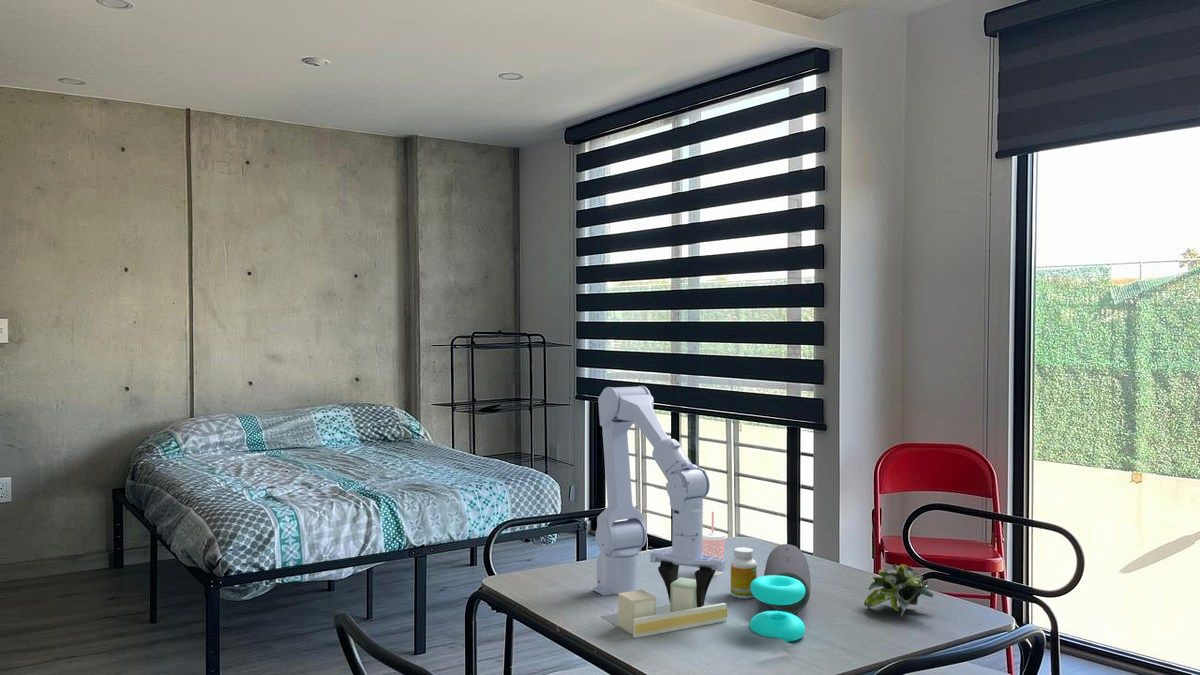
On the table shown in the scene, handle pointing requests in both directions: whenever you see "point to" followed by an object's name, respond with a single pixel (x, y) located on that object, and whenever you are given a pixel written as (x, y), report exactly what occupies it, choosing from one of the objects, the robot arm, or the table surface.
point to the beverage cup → (713, 543)
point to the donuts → (778, 593)
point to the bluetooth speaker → (790, 572)
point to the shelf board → (673, 619)
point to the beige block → (634, 607)
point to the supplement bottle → (742, 572)
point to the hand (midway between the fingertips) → (686, 603)
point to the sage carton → (683, 594)
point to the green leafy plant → (897, 588)
